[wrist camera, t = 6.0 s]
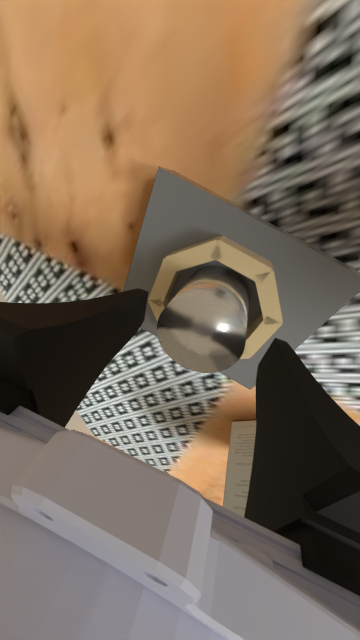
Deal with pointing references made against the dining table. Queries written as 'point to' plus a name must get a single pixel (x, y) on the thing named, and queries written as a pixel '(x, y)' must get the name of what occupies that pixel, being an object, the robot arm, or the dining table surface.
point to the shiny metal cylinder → (206, 321)
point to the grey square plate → (236, 267)
